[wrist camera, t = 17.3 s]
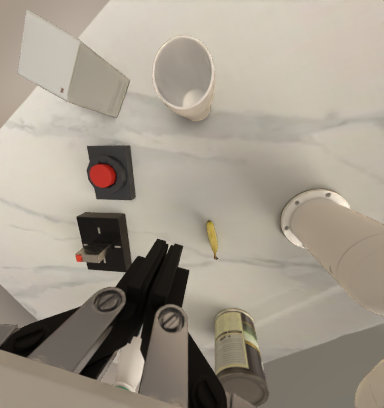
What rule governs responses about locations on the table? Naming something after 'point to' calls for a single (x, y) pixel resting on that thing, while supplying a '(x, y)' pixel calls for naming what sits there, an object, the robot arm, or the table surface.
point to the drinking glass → (185, 77)
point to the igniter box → (122, 166)
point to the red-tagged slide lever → (94, 252)
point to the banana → (212, 237)
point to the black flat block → (106, 239)
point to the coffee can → (239, 357)
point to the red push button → (102, 175)
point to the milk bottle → (130, 365)
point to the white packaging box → (69, 68)
